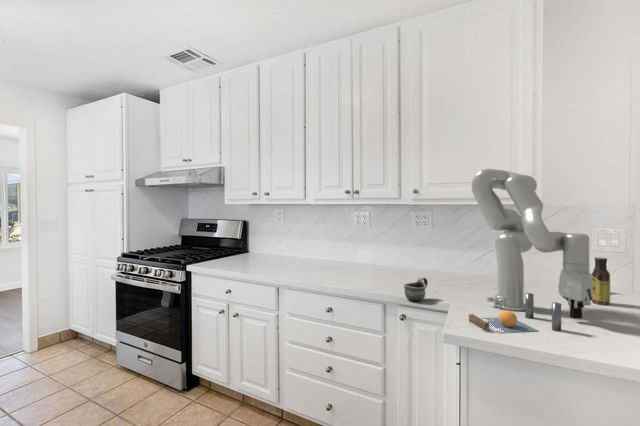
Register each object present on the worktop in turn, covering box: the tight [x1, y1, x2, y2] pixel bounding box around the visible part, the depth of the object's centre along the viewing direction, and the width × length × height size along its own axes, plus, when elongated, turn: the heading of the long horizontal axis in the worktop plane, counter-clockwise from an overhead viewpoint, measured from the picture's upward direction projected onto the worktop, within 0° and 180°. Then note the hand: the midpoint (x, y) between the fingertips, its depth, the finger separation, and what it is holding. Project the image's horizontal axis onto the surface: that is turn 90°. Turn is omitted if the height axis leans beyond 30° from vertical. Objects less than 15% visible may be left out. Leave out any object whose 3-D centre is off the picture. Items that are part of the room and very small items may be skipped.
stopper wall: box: [468, 313, 490, 331], centre depth 115 cm, size 2×10×2 cm, turn 5°
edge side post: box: [551, 302, 562, 332], centre depth 110 cm, size 3×3×9 cm
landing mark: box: [480, 317, 539, 333], centre depth 115 cm, size 14×14×1 cm
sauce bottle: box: [590, 256, 611, 306], centre depth 140 cm, size 7×6×20 cm
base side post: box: [524, 292, 535, 320], centre depth 123 cm, size 3×3×9 cm
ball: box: [498, 309, 518, 327], centre depth 114 cm, size 6×6×6 cm
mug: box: [403, 276, 429, 302], centre depth 149 cm, size 10×12×10 cm
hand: (575, 317), depth 118 cm, fingers closed
